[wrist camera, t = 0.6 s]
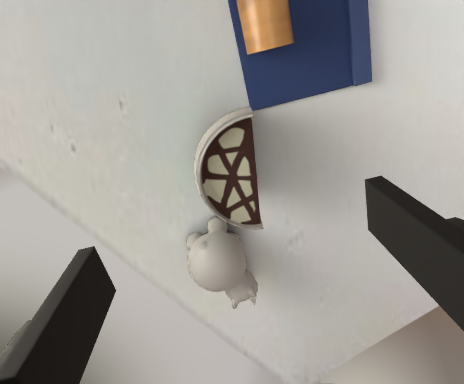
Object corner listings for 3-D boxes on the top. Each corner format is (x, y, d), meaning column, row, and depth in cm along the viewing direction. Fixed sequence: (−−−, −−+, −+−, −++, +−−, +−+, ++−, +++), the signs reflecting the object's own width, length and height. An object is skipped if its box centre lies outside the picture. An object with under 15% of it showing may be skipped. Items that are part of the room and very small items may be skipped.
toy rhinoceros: (228, 291, 46) (233, 337, 39) (178, 235, 42) (171, 274, 34) (269, 266, 45) (282, 309, 37) (222, 206, 41) (225, 240, 33)
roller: (227, -31, 31) (229, -46, 26) (275, -44, 31) (285, -62, 26) (245, 55, 34) (249, 54, 30) (288, 44, 34) (299, 41, 29)
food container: (188, 103, 36) (181, 118, 27) (242, 97, 36) (253, 109, 27) (204, 200, 41) (203, 241, 31) (251, 194, 41) (263, 233, 31)
